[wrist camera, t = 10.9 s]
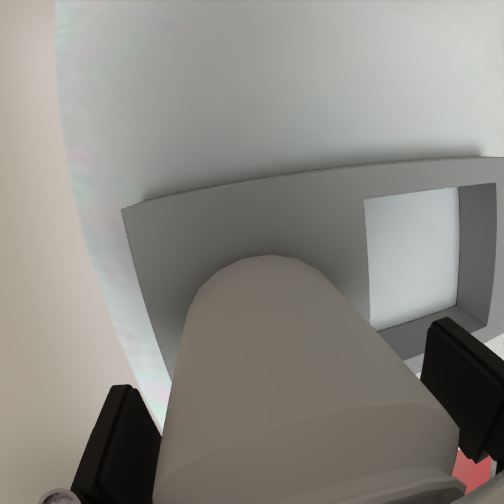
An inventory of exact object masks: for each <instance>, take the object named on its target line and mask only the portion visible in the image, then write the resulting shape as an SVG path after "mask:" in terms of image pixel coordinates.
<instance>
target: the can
mask: <svg viewBox="0 0 504 504" xmlns="http://www.w3.org/2000/svg"><path fill="white" fill-rule="evenodd" d="M458 442H459V427H458V426H457V425H456V423H455V422H454V421H453V419H452V418H451V416H450V415H449V414H448V412H447V411H446V410H445V409H444V408H443V406H442V405H441V404H440V403H439V402H438V400H437V399H436V398H435V397H434V396H433V395H432V394H431V392H430V391H429V390H428V389H427V388H426V387H425V385H424V384H423V383H422V382H421V381H420V380H419V379H418V377H417V376H416V375H415V374H414V373H413V372H412V371H411V370H410V368H409V367H408V366H407V365H406V364H405V363H404V362H403V361H402V359H401V358H400V357H399V356H398V355H397V354H396V353H395V352H394V350H393V349H392V348H391V347H390V346H389V345H388V344H387V343H386V342H385V341H384V339H383V338H382V337H381V336H380V335H379V334H378V333H377V332H376V331H375V330H374V328H373V327H372V326H371V325H370V324H369V323H368V322H367V321H366V320H365V319H364V318H363V317H362V315H361V314H360V313H359V312H358V311H357V310H356V309H355V308H354V307H353V306H352V305H351V304H350V303H349V301H348V300H347V299H346V298H345V297H344V296H343V295H342V294H341V293H340V292H339V291H338V290H337V289H336V288H335V287H334V286H333V284H332V283H331V282H330V281H329V280H328V279H327V278H326V277H325V276H324V275H323V274H322V273H321V272H320V271H319V270H317V269H315V268H313V267H312V266H310V265H308V264H306V263H304V262H302V261H300V260H298V259H295V258H289V257H283V256H277V255H264V256H257V257H251V258H244V259H241V260H239V261H237V262H235V263H233V264H231V265H229V266H227V267H225V268H223V269H220V270H218V271H217V272H216V273H215V274H214V275H213V276H212V277H211V278H210V279H209V280H208V281H207V282H206V283H205V284H204V285H203V286H201V287H200V288H199V290H198V292H197V294H196V296H195V298H194V300H193V302H192V303H191V305H190V307H189V309H188V312H187V317H186V321H185V325H184V330H183V334H182V339H181V343H180V348H179V353H178V357H177V362H176V367H175V372H174V377H173V382H172V387H171V392H170V397H169V402H168V407H167V412H166V418H165V423H164V429H163V435H162V440H161V446H160V452H159V458H158V464H157V470H156V476H155V483H154V489H153V496H152V497H153V504H450V503H452V502H454V501H456V500H458V499H459V498H461V497H463V496H464V495H465V491H466V486H465V484H464V483H463V482H461V481H460V480H459V479H457V478H456V477H455V476H454V477H451V476H452V473H453V468H454V465H455V461H456V456H457V452H458Z"/></svg>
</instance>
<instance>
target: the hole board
mask: <svg viewBox="0 0 504 504" xmlns="http://www.w3.org/2000/svg"><path fill="white" fill-rule="evenodd" d="M451 187H459V206H460V261H459V280H458V293H457V303H456V306H454V307H451V308H448V309H445V310H443V311H440V312H437V313H434V314H431V315H428V316H425V317H423V318H420V319H417V320H414V321H410V322H407V323H404V324H401V325H398V326H395V327H391V328H388V329H385V330H382V331H378V332H377V333H378V334H379V335H380V336H381V337H382V338H383V339H384V341H385V342H386V343H387V344H388V345H389V346H390V347H391V348H392V349H393V350H394V352H395V353H396V354H397V355H398V356H399V357H400V358H401V359H402V361H403V362H404V363H405V364H406V365H407V366H408V367H409V368H410V370H411V371H412V372H413V373H414V374H416V373H419V372H421V371H422V365H423V359H424V352H425V345H426V337H427V330H428V328H429V327H430V326H431V323H432V322H433V321H435V320H438V319H441V318H444V317H449V318H451V319H452V320H454V321H455V322H456V323H457V324H459V325H460V326H461V327H463V328H464V329H465V330H466V331H468V332H469V333H470V334H471V335H473V336H474V337H475V338H477V339H478V340H479V341H480V342H482V343H485V342H487V341H489V340H491V339H493V338H495V337H497V336H499V335H500V334H502V333H504V157H455V158H436V159H420V160H407V161H395V162H384V163H373V164H363V165H354V166H345V167H337V168H329V169H321V170H313V171H306V172H299V173H292V174H285V175H278V176H272V177H266V178H259V179H253V180H247V181H242V182H236V183H230V184H225V185H219V186H214V187H209V188H203V189H198V190H193V191H188V192H183V193H179V194H174V195H169V196H164V197H160V198H155V199H151V200H146V201H142V202H140V203H137V204H134V205H131V206H129V207H126V208H124V209H121V212H122V216H123V221H124V225H125V230H126V234H127V238H128V242H129V246H130V250H131V254H132V258H133V262H134V266H135V270H136V274H137V277H138V281H139V284H140V288H141V291H142V295H143V298H144V302H145V305H146V308H147V312H148V315H149V318H150V321H151V324H152V327H153V330H154V333H155V337H156V340H157V342H158V345H159V348H160V351H161V354H162V357H163V360H164V363H165V365H166V368H167V371H168V373H169V376H170V379H171V381H172V382H173V377H174V372H175V367H176V362H177V357H178V353H179V348H180V343H181V339H182V334H183V330H184V325H185V321H186V317H187V312H188V309H189V307H190V305H191V303H192V302H193V300H194V298H195V296H196V294H197V292H198V290H199V288H200V287H201V286H203V285H204V284H205V283H206V282H207V281H208V280H209V279H210V278H211V277H212V276H213V275H214V274H215V273H216V272H217V271H218V270H220V269H223V268H225V267H227V266H229V265H231V264H233V263H235V262H237V261H239V260H241V259H244V258H251V257H257V256H264V255H277V256H283V257H289V258H295V259H298V260H300V261H302V262H304V263H306V264H308V265H310V266H312V267H313V268H315V269H317V270H319V271H320V272H321V273H322V274H323V275H324V276H325V277H326V278H327V279H328V280H329V281H330V282H331V283H332V284H333V286H334V287H335V288H336V289H337V290H338V291H339V292H340V293H341V294H342V295H343V296H344V297H345V298H346V299H347V300H348V301H349V303H350V304H351V305H352V306H353V307H354V308H355V309H356V310H357V311H358V312H359V313H360V314H361V315H362V317H363V318H364V319H365V320H366V321H367V322H368V323H369V324H370V305H369V273H368V255H367V240H366V227H365V216H364V206H363V199H368V198H375V197H382V196H389V195H397V194H404V193H411V192H419V191H426V190H434V189H442V188H451Z"/></svg>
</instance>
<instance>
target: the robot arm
mask: <svg viewBox="0 0 504 504" xmlns="http://www.w3.org/2000/svg"><path fill="white" fill-rule="evenodd" d="M420 381H421V382H422V383H423V384H424V385H425V387H426V388H427V389H428V390H429V391H430V392H431V394H432V395H433V396H434V397H435V398H436V399H437V400H438V402H439V403H440V404H441V405H442V406H443V408H444V409H445V410H446V411H447V412H448V414H449V415H450V416H451V418H452V419H453V421H454V422H455V423H456V425H457V426H458V427H459V442H458V446H459V448H460V449H461V450H462V452H463V453H464V455H465V456H466V457H467V458H468V459H472V460H473V461H474V462H475V464H477V463H479V462H480V461H482V460H483V459H485V458H486V457H488V455H490V457H491V458H492V465H491V473H490V479H489V480H488V481H487V482H485V483H484V484H482V485H481V486H479V487H477V488H476V489H474V490H473V491H471V492H469V493H468V494H466V495H464V496H463V497H461V498H459V499H458V500H456V501H454V502H452V503H450V504H504V360H502V359H501V358H500V357H499V356H498V355H496V354H495V353H494V352H493V351H491V350H490V349H489V348H488V347H487V346H485V345H484V344H483V343H482V342H480V341H479V340H478V339H477V338H475V337H474V336H473V335H471V334H470V333H469V332H468V331H466V330H465V329H464V328H463V327H461V326H460V325H459V324H457V323H456V322H455V321H454V320H452V319H451V318H449V317H444V318H441V319H438V320H435V321H433V322H432V323H431V326H430V327H429V328H428V330H427V337H426V345H425V352H424V359H423V365H422V371H421V377H420ZM161 440H162V436H161V435H160V433H159V431H158V429H157V427H156V425H155V423H154V421H153V420H152V418H151V416H150V414H149V412H148V410H147V408H146V405H145V403H144V401H143V399H142V397H141V395H140V393H139V391H138V390H137V389H136V388H134V389H133V387H132V386H131V385H129V384H126V385H113V386H112V387H111V389H110V391H109V393H108V395H107V398H106V400H105V403H104V405H103V407H102V410H101V412H100V415H99V417H98V419H97V422H96V424H95V427H94V429H93V430H92V433H91V435H90V438H89V441H88V443H87V445H86V448H85V451H84V453H83V456H82V459H81V461H80V464H79V467H78V469H77V472H76V475H75V478H74V481H73V483H72V486H71V489H70V490H67V489H63V488H60V489H53V490H50V491H49V492H47V493H46V494H44V495H43V496H42V497H41V498H40V500H39V502H38V504H153V497H152V496H153V489H154V483H155V476H156V470H157V464H158V458H159V452H160V446H161Z"/></svg>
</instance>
